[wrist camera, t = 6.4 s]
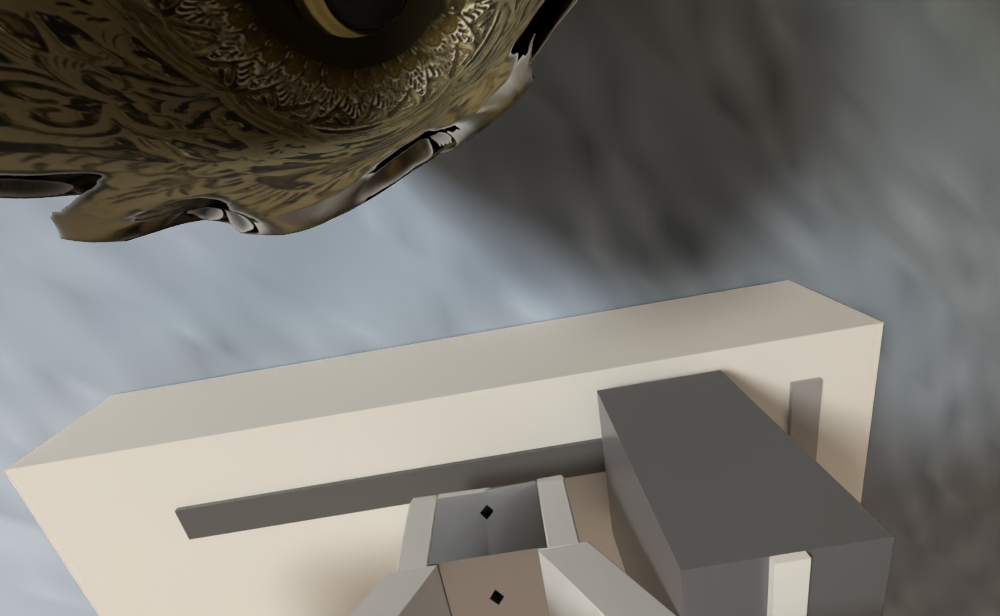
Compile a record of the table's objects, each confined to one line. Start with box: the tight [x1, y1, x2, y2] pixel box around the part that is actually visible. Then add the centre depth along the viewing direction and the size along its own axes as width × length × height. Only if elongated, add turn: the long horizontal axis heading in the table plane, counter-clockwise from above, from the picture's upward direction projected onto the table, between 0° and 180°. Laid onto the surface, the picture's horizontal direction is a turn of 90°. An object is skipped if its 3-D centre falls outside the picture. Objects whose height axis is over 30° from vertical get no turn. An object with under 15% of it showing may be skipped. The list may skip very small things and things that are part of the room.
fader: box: [597, 370, 895, 616], centre depth 8 cm, size 4×2×4 cm, turn 9°
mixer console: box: [4, 280, 883, 616], centre depth 13 cm, size 14×18×3 cm
